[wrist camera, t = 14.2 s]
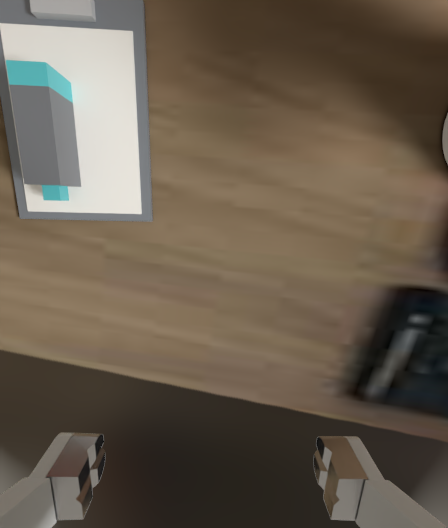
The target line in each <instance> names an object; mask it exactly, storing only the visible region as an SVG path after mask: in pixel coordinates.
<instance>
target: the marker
mask: <svg viewBox="0 0 448 528" xmlns="http://www.w3.org/2000/svg"><path fill="white" fill-rule="evenodd" d="M6 66H7V73H8V79H9V86H10V93H11V99H12V106H13V113H14V119H15V126H16V133H17V139H18V146H19V152H20V159H21V166H22V172H23V179H24V184H30V185H42V192H43V199H44V200H53V201H69V194H68V187H81V179H80V169H79V159H78V149H77V139H76V129H75V119H74V109H73V99H72V89H71V83H70V82H69V81H68V80H67V79H66V78H64V77H63V76H62V75H61V74H60V73H58V72H57V71H56V70H55V69H54V68H52V67H51V66H50V65H49V64H47V63H46V62H34V61H15V60H6Z"/></svg>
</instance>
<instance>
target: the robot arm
mask: <svg viewBox="0 0 448 528" xmlns="http://www.w3.org/2000/svg"><path fill="white" fill-rule="evenodd" d="M442 143H443V152H444V156H445V159H446V162H447V164H448V113H447V116H446V119H445V123H444V128H443V138H442ZM103 443H104V438H103V434H89V433H88V434H87V433H60V434H59V435H58V436H57V437H56V438H55V439H54V441H53V442H52V444H51V445H50V447H49V448H48V450H47V451H46V453H45V454H44V455H43V457H42V458H41V460H40V462H39V463H38V464H37V466H36V467H35V469H34V470H33V472H32V474H31V475H30V476H29V478H23V479H22V480H20V481H19V482H18V483H16V484H15V485H14V486H12V487H11V488H10V489H8V490H7V491H5V492H4V493H2V494H1V495H0V528H52V526H53V525H54V524H55V523H56V520H77V519H84V516H85V514H86V512H87V509H88V507H89V505H90V502H91V500H92V497H93V495H92V488H93V487H94V486H96V485H97V484H98V483H99V480H100V478H101V475H102V472H103V468H104V464H105V451H104V450H103V449H102V448H101V447H102V445H103ZM316 446H317V448H318V450H317V451H316V452H315V453H314V461H313V462H314V471H315V475H316V479H317V481H318V484H319V485H320V486H321V487H322V488H323V489H324V496H323V499H324V501H325V504H326V507H327V510H328V512H329V515H330V518H331V520H352V521H356V523H357V524H358V526H359V527H360V528H447V527H446V526H445V525H443V524H442V523H441V522H439V521H438V520H437V519H436V518H434V517H433V516H432V515H431V514H430V513H429V512H427V511H426V510H425V509H424V508H422V507H421V506H420V505H419V504H417V503H416V502H415V501H414V500H413V499H411V498H410V497H409V496H408V495H406V494H405V493H404V492H402V491H401V490H400V489H399V488H398V487H396V486H395V485H394V484H393V483H392V482H390V481H389V480H384V478H383V477H382V475H381V473H380V472H379V470H378V468H377V466H376V465H375V463H374V461H373V460H372V458H371V456H370V455H369V453H368V451H367V450H366V448H365V447H364V445H363V443H362V442H361V440H360V439H359V438H358V437H343V436H322V437H321V436H319V437H318V438H317V441H316Z"/></svg>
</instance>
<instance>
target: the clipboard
mask: <svg viewBox="0 0 448 528" xmlns="http://www.w3.org/2000/svg"><path fill="white" fill-rule="evenodd" d="M6 60H15V61H34V62H46V63H47V64H49V65H50V66H51V67H52V68H54V69H55V70H56V71H57V72H58V73H60V74H61V75H62V76H63V77H64V78H66V79H67V80H68V81H69V82H70V83H71V89H72V99H73V109H74V119H75V129H76V139H77V149H78V159H79V169H80V179H81V187H68V194H69V201H53V200H44V199H43V192H42V185H30V184H24V179H23V172H22V166H21V159H20V152H19V146H18V139H17V133H16V126H15V119H14V113H13V106H12V99H11V93H10V86H9V79H8V73H7V66H6ZM0 97H1V104H2V110H3V116H4V122H5V129H6V135H7V141H8V148H9V154H10V160H11V166H12V173H13V179H14V185H15V191H16V198H17V204H18V210H19V216H20V219H63V220H107V221H151V222H152V221H153V213H152V187H151V161H150V135H149V110H148V84H147V58H146V32H145V6H144V2H143V0H0Z"/></svg>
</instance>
